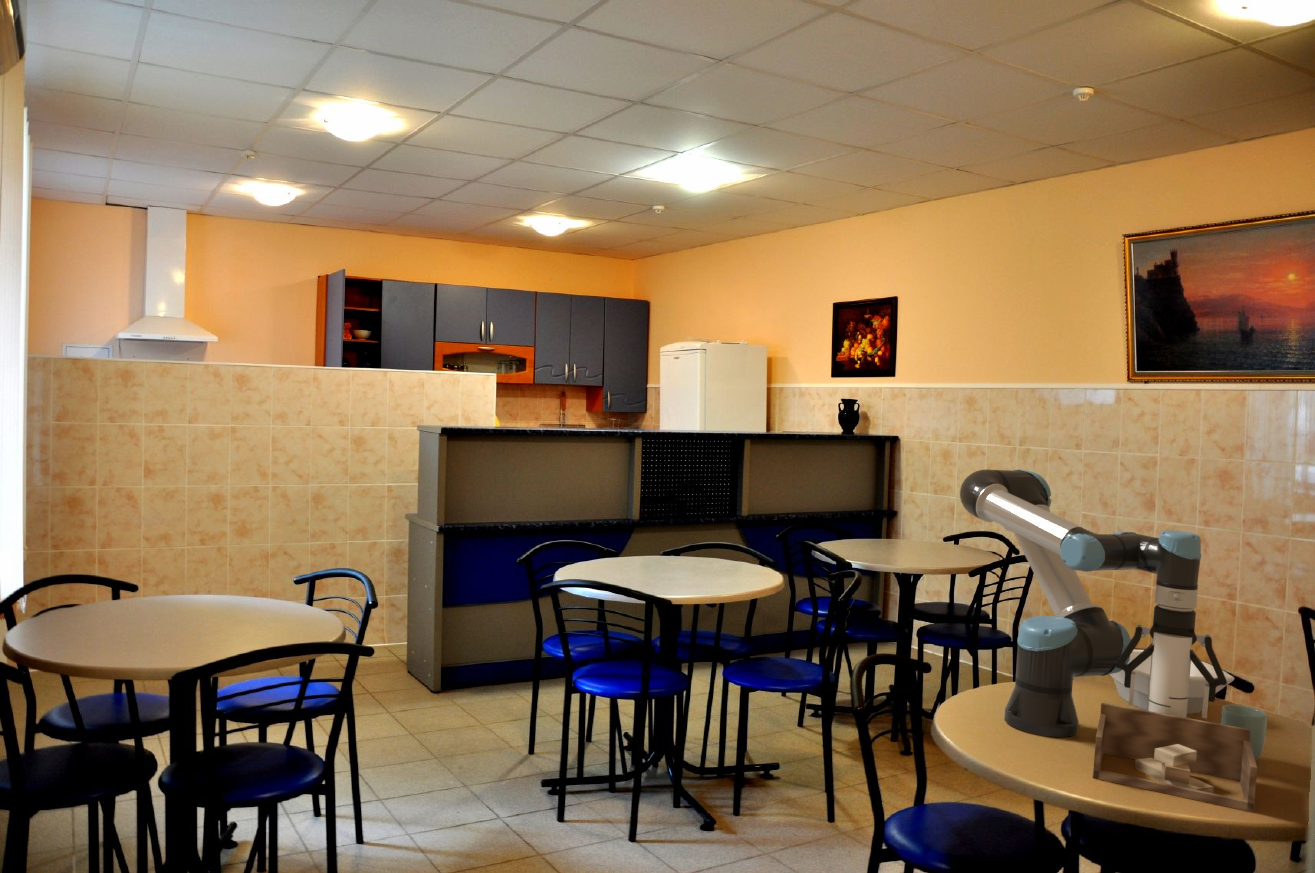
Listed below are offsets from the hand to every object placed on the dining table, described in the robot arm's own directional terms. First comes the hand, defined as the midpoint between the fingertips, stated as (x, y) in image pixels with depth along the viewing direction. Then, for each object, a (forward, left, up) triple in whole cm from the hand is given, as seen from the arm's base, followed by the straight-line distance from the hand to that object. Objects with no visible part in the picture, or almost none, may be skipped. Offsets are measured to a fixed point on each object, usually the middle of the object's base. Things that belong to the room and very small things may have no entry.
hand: (1167, 710), depth 195 cm
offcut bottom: (+1, -16, -10) cm, 19 cm away
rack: (+1, -15, -9) cm, 18 cm away
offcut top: (+2, -16, -5) cm, 17 cm away
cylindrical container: (0, 0, -9) cm, 9 cm away
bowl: (-1, +38, -9) cm, 39 cm away
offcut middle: (+2, -16, -7) cm, 17 cm away
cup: (+14, +7, -9) cm, 18 cm away
